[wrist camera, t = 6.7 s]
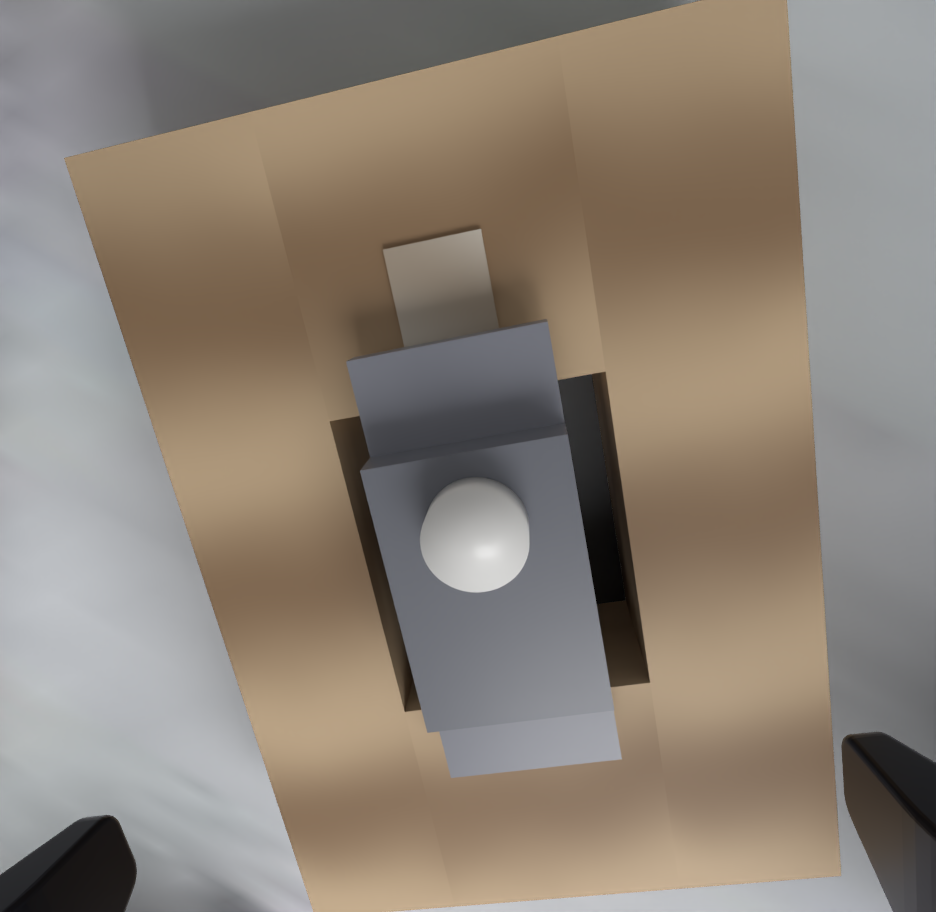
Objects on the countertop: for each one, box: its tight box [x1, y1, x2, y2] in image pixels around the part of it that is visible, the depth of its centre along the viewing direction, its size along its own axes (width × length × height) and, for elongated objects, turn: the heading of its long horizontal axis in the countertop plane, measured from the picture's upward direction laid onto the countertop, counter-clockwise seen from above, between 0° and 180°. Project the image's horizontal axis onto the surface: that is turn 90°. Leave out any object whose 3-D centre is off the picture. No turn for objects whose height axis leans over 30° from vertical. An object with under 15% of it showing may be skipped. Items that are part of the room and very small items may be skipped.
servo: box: [346, 319, 622, 778], centre depth 16 cm, size 10×4×7 cm, turn 12°
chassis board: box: [64, 0, 841, 912], centre depth 17 cm, size 20×14×4 cm
